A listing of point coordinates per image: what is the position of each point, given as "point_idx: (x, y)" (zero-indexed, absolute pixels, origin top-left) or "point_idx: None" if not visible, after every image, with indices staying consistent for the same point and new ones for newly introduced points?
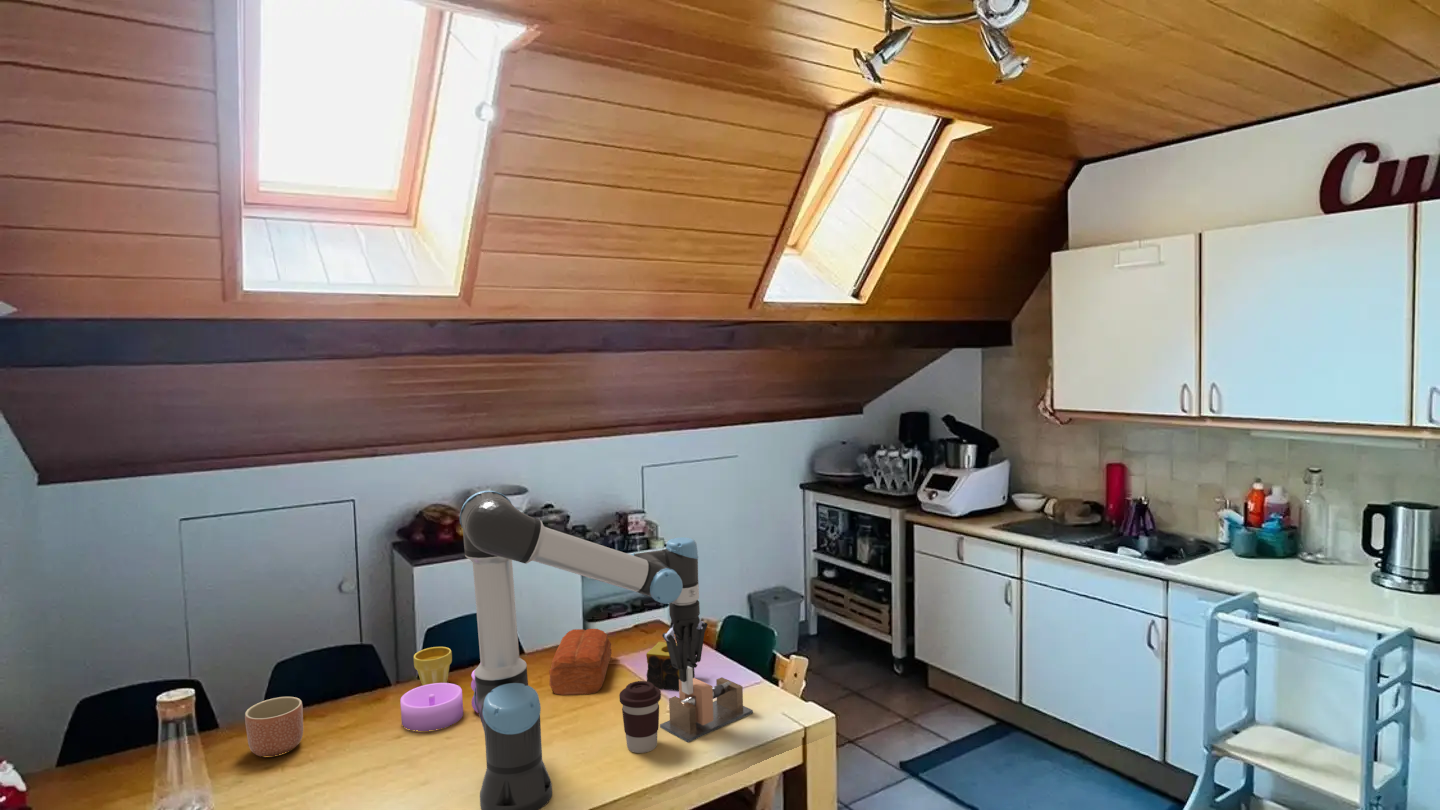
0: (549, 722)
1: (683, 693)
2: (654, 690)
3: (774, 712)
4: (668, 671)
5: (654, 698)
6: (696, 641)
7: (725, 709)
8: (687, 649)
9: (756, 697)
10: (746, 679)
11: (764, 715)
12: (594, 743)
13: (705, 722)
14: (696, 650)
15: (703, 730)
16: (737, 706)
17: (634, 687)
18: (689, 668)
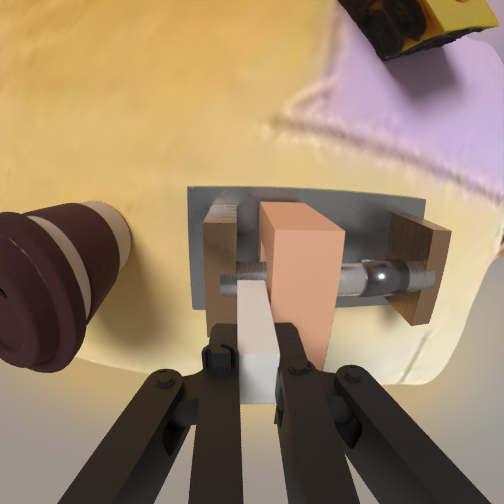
0: (44, 8)
1: (266, 246)
2: (41, 361)
3: (423, 324)
4: (391, 13)
5: (41, 371)
6: (396, 491)
7: (378, 255)
8: (292, 473)
9: (459, 247)
10: (499, 168)
11: (405, 322)
12: (35, 147)
13: None
14: (358, 453)
15: None
16: (387, 299)
17: None
18: (255, 400)
